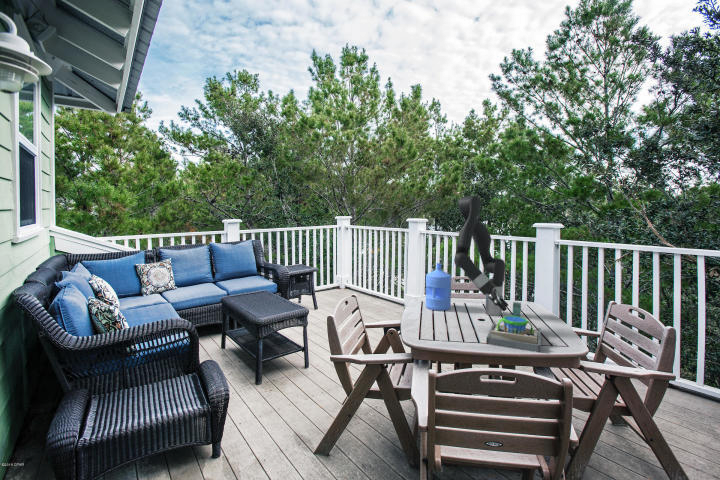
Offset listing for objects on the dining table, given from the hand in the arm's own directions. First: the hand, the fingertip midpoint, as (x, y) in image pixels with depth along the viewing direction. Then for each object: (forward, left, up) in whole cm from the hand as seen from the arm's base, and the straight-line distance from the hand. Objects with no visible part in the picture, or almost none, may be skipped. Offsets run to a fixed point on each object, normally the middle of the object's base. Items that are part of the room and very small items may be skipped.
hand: (506, 308), depth 185 cm
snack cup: (+12, +5, -12) cm, 18 cm away
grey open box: (+10, +5, -12) cm, 16 cm away
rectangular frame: (+10, +5, -12) cm, 16 cm away
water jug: (-28, -42, -12) cm, 52 cm away
